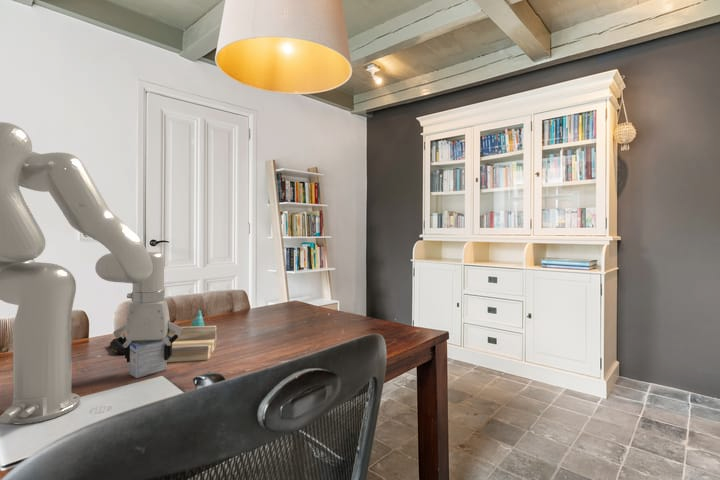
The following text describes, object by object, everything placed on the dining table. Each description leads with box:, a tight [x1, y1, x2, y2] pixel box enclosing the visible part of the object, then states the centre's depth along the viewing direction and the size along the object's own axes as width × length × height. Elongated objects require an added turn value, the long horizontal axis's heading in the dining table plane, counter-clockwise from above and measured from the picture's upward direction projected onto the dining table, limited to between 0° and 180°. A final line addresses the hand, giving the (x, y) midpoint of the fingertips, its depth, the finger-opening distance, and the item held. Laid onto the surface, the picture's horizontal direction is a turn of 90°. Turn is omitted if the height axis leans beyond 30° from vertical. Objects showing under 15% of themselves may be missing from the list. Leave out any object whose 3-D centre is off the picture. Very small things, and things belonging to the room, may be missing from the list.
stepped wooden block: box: [166, 325, 217, 363], centre depth 119 cm, size 14×16×7 cm
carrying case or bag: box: [109, 336, 138, 356], centre depth 124 cm, size 11×3×15 cm
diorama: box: [189, 309, 206, 327], centre depth 142 cm, size 12×20×9 cm, turn 140°
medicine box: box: [129, 339, 167, 379], centre depth 103 cm, size 8×4×9 cm, turn 143°
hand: (148, 359), depth 103 cm, fingers closed on medicine box, 8 cm apart
